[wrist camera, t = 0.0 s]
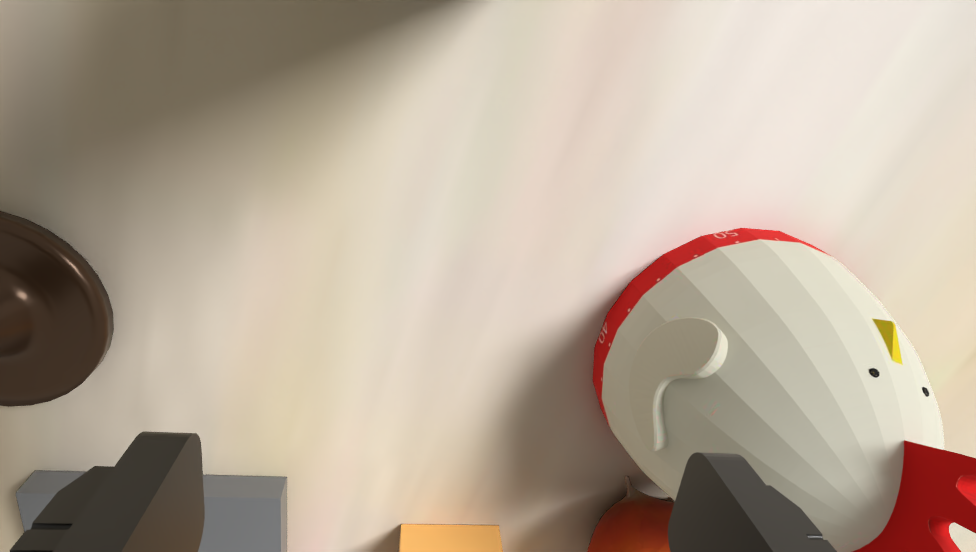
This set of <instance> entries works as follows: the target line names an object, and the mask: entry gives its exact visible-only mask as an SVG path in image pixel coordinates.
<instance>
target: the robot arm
mask: <svg viewBox="0 0 976 552" xmlns="http://www.w3.org/2000/svg"><path fill="white" fill-rule="evenodd" d="M204 520H205V506H204V488H203V471H202V453H201V442H200V438H199V436H198V435H197V434H196V433H168V432H142V433H140V434H139V435H138V436H137V437H136V438H135V439H134V441H133V442H132V443H131V445H130V446H129V447H128V449H127V450H126V452H125V453H124V454H123V456H122V457H121V458H120V460H119V461H118V463H117V464H116V465H115V467H104V466H94V467H93V468H91V469H90V470H89V471H87V472H86V473H84V474H83V475H81V476H80V477H78V478H77V479H76V480H74V481H73V482H71V483H70V484H68V485H67V486H65V487H64V488H62V489H61V490H60V491H58V492H57V493H56V494H55V496H54V497H53V498H52V499H51V501H50V502H49V503H48V504H47V505H46V507H45V508H44V509H43V510H42V512H41V513H40V514H39V515H38V516H37V518H36V519H35V520H34V521H33V523H32V527H31V529H30V530H26V531H25V532H24V534H23V535H22V536H21V537H20V539H19V540H18V541H17V542H16V543H15V545H14V546H13V547H12V548H11V550H10V552H198V550H199V546H200V543H201V539H202V534H203V528H204ZM822 536H823V534H822V533H821V532H820V531H819V530H818V528H817V527H816V526H815V525H814V524H813V522H812V521H811V520H810V519H809V518H808V516H807V515H806V514H805V513H804V512H803V510H802V509H801V508H800V507H798V506H797V505H796V504H795V503H793V502H792V501H791V500H789V499H788V498H787V497H785V496H784V495H783V494H781V493H780V492H779V491H777V490H776V489H775V488H773V487H772V486H771V485H766V484H765V483H764V482H763V480H762V479H761V478H760V477H759V475H758V474H757V473H756V472H755V471H754V469H753V468H752V467H751V466H750V464H749V463H748V462H747V461H746V460H745V458H744V457H742V456H741V455H739V454H730V453H701V452H696V453H693V454H692V455H691V456H690V457H689V459H688V461H687V464H686V467H685V470H684V473H683V477H682V480H681V483H680V486H679V490H678V493H677V496H676V500H675V503H674V506H673V509H672V513H671V516H670V519H669V524H668V542H669V548H670V552H837V551H836V550H835V549H834V547H833V546H832V545H831V544H830V543H829V541H828V540H824V539H823V537H822Z"/></svg>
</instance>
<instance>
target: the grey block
mask: <svg viewBox="0 0 976 552" xmlns="http://www.w3.org/2000/svg"><path fill="white" fill-rule="evenodd" d="M84 473H86V472H70V471H34V472H33V473H32V475H31V476H30V477H29V478H28V479H27V480H26V482H25V483H24V484H23V485H22V486H21V487H20V488H19V490H18V491H17V492H16V498H17V502H18V506H19V510H20V515H21V519H22V523H23V527H24V532H25V531H26V530H30V529H31V527H32V523H33V521H34V520H35V519H36V518H37V516H38V515H39V514H40V513H41V512H42V510H43V509H44V508H45V507H46V505H47V504H48V503H49V502H50V501H51V499H52V498H53V497H54V496H55V494H56V493H57V492H58V491H60V490H61V489H62V488H64V487H65V486H67V485H68V484H70V483H71V482H73V481H74V480H76V479H77V478H78V477H80V476H81V475H83V474H84ZM203 488H204V506H205V520H204V528H203V534H202V539H201V543H200V546H199V550H198V552H287V477H267V476H227V475H203Z"/></svg>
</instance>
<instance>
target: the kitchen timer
mask: <svg viewBox="0 0 976 552" xmlns="http://www.w3.org/2000/svg"><path fill="white" fill-rule="evenodd" d="M593 383H594V386H595V390H596V393H597V397H598V400H599V404H600V407H601V410H602V412H603V414H604V416H605V418H606V421H607V423H608V425H609V427H610V429H611V430H612V432H613V433H614V435H615V436H616V438H617V439H618V440H619V442H620V443H621V444H622V446H623V447H624V448H625V450H626V451H627V452H628V454H629V455H630V456H631V458H632V459H633V460H634V462H635V463H636V464H637V465H638V466H639V468H640V469H641V470H642V471H643V472H644V473H645V474H646V475H647V476H648V477H649V478H650V479H651V480H652V481H653V482H654V483H655V484H656V485H658V486H659V487H660V488H661V489H662V490H663V491H664V492H665V493H666V494H668V495H669V496H670V497H671V498H672V499H673V500H674V501H675V500H676V496H677V493H678V490H679V486H680V483H681V480H682V477H683V473H684V470H685V467H686V464H687V461H688V459H689V457H690V456H691V455H692V454H693V453H696V452H701V453H730V454H739V455H741V456H742V457H744V458H745V460H746V461H747V462H748V463H749V464H750V466H751V467H752V468H753V469H754V471H755V472H756V473H757V474H758V475H759V477H760V478H761V479H762V480H763V482H764V483H765V484H766V485H771V486H772V487H773V488H775V489H776V490H777V491H779V492H780V493H781V494H783V495H784V496H785V497H787V498H788V499H789V500H791V501H792V502H793V503H795V504H796V505H797V506H798V507H800V508H801V509H802V510H803V512H804V513H805V514H806V515H807V516H808V518H809V519H810V520H811V521H812V522H813V524H814V525H815V526H816V527H817V528H818V530H819V531H820V532H821V533H822V534H823V536H822V537H823V539H824V540H828V541H829V543H830V544H831V545H832V546H833V547H834V549H835V550H836V551H837V552H961V551H960V550H959V548H958V547H957V546H956V544H955V543H954V542H953V540H952V539H951V537H950V534H949V525H950V524H951V523H953V522H955V523H957V524H959V525H961V526H963V527H965V528H967V529H969V530H970V531H972V532H974V533H976V458H972V457H969V456H965V455H962V454H958V453H954V452H950V451H946V450H944V433H943V425H942V419H941V415H940V411H939V407H938V404H937V401H936V398H935V395H934V393H933V390H932V388H931V385H930V382H929V380H928V377H927V375H926V372H925V370H924V367H923V365H922V362H921V360H920V358H919V356H918V354H917V352H916V351H915V349H914V347H913V345H912V344H911V342H910V341H909V340H908V338H907V337H906V335H905V334H904V333H903V331H902V330H901V328H900V327H899V326H898V324H897V323H896V322H895V320H894V319H893V318H892V316H891V315H890V314H889V312H888V311H887V310H886V308H885V307H884V306H883V305H882V303H881V302H880V301H879V300H878V299H877V298H876V296H875V295H874V294H873V293H872V292H871V291H870V290H868V289H867V288H866V287H865V286H864V285H863V284H862V283H861V282H860V281H859V280H858V279H857V278H856V277H855V276H854V275H853V274H852V273H851V272H850V271H849V270H848V269H847V268H846V267H845V266H844V265H843V264H842V263H840V262H839V261H838V260H836V259H835V258H834V257H832V256H830V255H829V254H827V253H825V252H823V251H821V250H820V249H818V248H816V247H814V246H812V245H810V244H808V243H806V242H804V241H801V240H799V239H797V238H794V237H792V236H790V235H787V234H785V233H783V232H780V231H772V230H760V229H748V228H739V229H734V230H729V231H724V232H719V233H714V234H709V235H704V236H701V237H698V238H696V239H694V240H692V241H690V242H688V243H686V244H684V245H682V246H680V247H678V248H676V249H674V250H672V251H669V252H667V253H665V254H663V255H662V256H661V257H660V258H658V259H657V260H656V261H655V262H654V263H652V264H651V265H650V266H649V267H648V268H646V269H645V270H644V271H643V272H642V273H640V274H639V275H638V276H637V277H635V278H634V279H633V280H632V281H631V282H630V283H629V285H628V286H627V287H626V289H625V290H624V291H623V293H622V294H621V296H620V297H619V298H618V300H617V301H616V302H615V304H614V305H613V306H612V308H611V309H610V311H609V312H608V313H607V316H606V319H605V321H604V324H603V327H602V329H601V332H600V334H599V337H598V340H597V342H596V345H595V349H594V366H593Z"/></svg>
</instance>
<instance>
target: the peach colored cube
mask: <svg viewBox="0 0 976 552" xmlns="http://www.w3.org/2000/svg"><path fill="white" fill-rule="evenodd" d="M398 552H503V550H502V543H501V537H500V531H499V526H497V525H424V524H401V531H400V541H399V551H398Z"/></svg>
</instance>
